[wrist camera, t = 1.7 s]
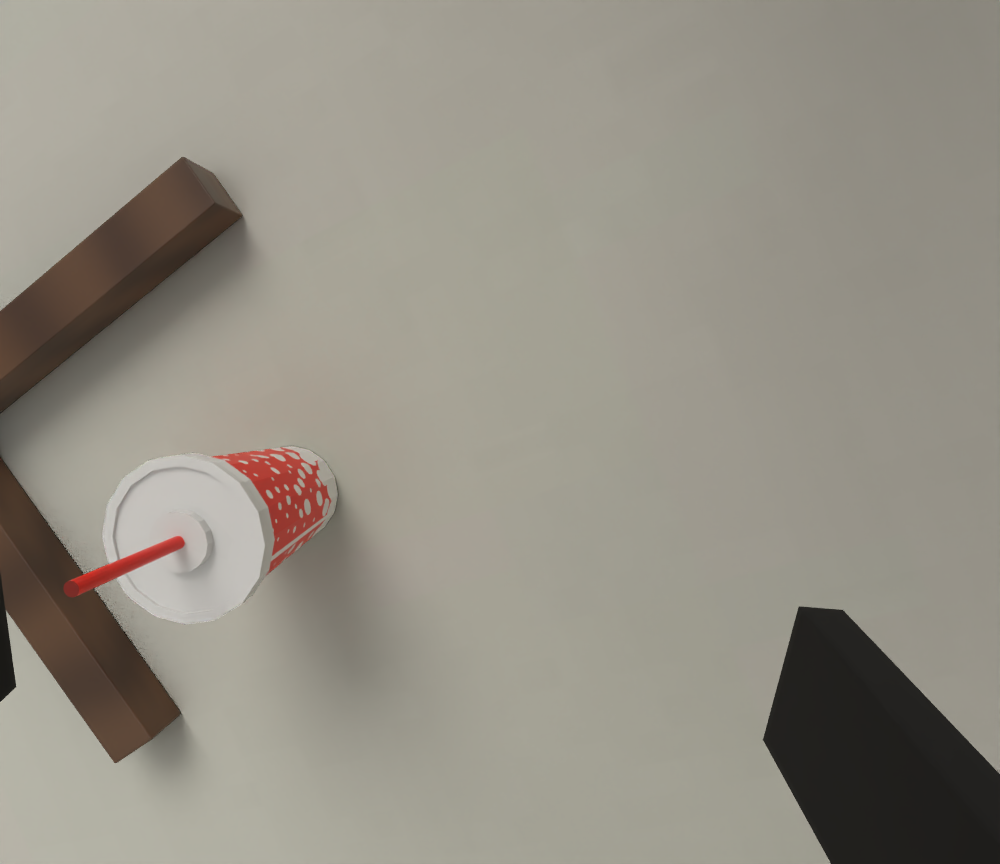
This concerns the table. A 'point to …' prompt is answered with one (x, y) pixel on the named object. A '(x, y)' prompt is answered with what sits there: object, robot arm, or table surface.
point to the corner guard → (3, 503)
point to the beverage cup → (209, 528)
